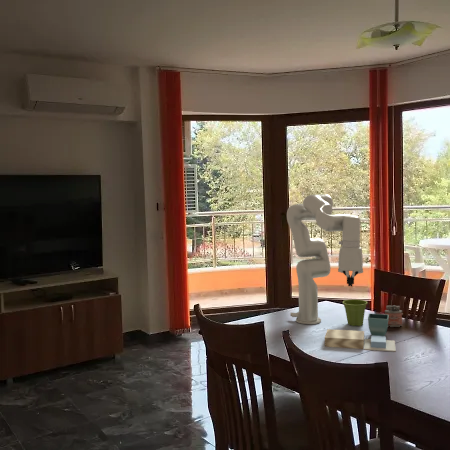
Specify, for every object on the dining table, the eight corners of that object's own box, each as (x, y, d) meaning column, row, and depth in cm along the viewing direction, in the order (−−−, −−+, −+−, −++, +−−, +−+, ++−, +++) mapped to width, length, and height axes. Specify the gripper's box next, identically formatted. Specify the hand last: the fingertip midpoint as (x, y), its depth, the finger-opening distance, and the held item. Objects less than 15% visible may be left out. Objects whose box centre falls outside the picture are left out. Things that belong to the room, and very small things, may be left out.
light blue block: (386, 342, 212) (386, 348, 212) (385, 336, 221) (385, 341, 221) (371, 341, 214) (371, 347, 214) (371, 335, 222) (371, 341, 223)
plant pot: (345, 320, 259) (345, 298, 258) (369, 322, 254) (369, 300, 253) (340, 326, 249) (340, 303, 248) (365, 328, 243) (364, 305, 243)
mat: (364, 349, 212) (364, 348, 212) (364, 339, 226) (364, 338, 226) (395, 351, 209) (395, 350, 209) (394, 341, 222) (394, 340, 222)
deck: (324, 346, 218) (324, 337, 217) (327, 337, 230) (327, 329, 230) (363, 349, 213) (363, 339, 213) (364, 340, 225) (364, 331, 225)
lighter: (401, 324, 248) (401, 304, 248) (402, 326, 245) (402, 306, 244) (384, 324, 249) (384, 304, 248) (385, 326, 246) (385, 306, 245)
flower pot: (388, 333, 235) (388, 314, 234) (388, 339, 226) (388, 319, 226) (369, 332, 237) (368, 313, 237) (367, 337, 229) (367, 317, 228)
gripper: (332, 244, 220) (332, 286, 222) (368, 246, 216) (367, 288, 218) (334, 242, 227) (333, 283, 229) (369, 243, 223) (368, 284, 225)
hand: (350, 285), depth 223 cm, fingers closed
